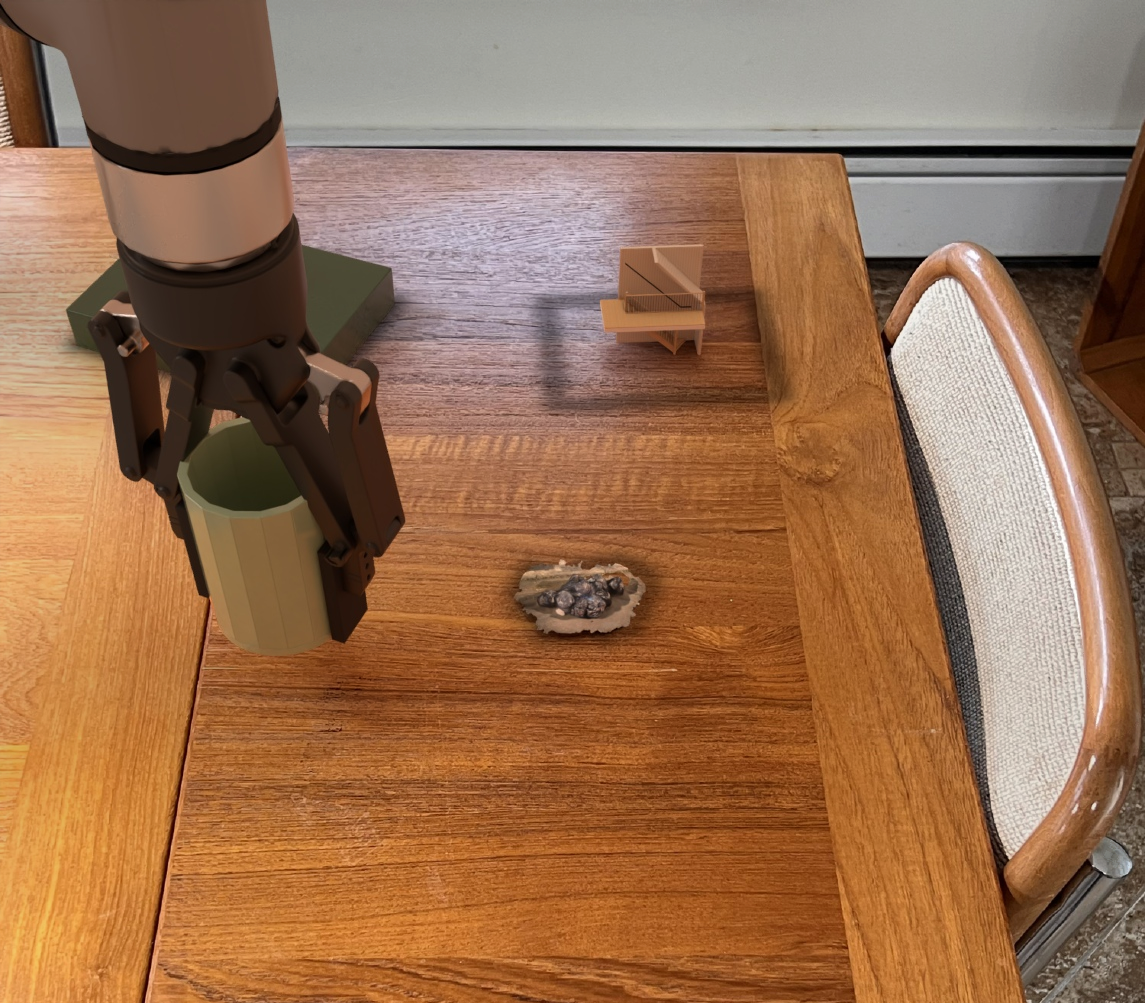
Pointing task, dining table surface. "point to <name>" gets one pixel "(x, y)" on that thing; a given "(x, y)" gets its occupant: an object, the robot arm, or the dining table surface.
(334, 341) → the green base plate
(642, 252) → the architectural model
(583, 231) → the dining table surface
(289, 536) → the cup
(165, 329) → the robot arm
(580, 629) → the blueberries
